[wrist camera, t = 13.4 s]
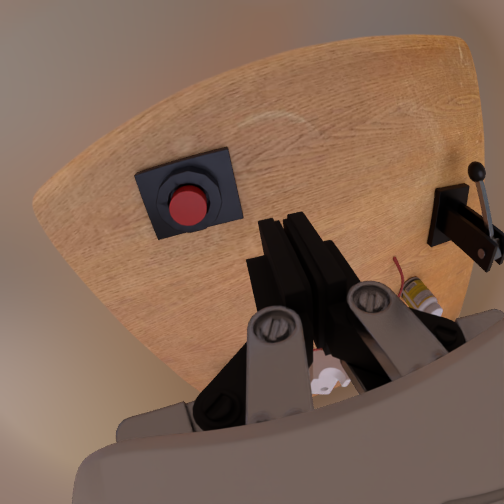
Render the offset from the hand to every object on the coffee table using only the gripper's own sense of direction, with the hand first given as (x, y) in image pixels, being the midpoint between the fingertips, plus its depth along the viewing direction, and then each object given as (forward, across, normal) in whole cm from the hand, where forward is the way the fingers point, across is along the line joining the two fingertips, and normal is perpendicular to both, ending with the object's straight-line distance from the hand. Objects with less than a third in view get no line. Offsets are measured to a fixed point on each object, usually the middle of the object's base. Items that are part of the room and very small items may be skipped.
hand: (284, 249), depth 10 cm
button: (+17, +6, +4) cm, 18 cm away
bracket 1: (+19, -7, +45) cm, 49 cm away
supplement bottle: (+20, -26, +29) cm, 44 cm away
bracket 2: (+20, -32, +15) cm, 40 cm away
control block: (+20, +6, +4) cm, 21 cm away
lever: (+13, -32, +11) cm, 36 cm away
